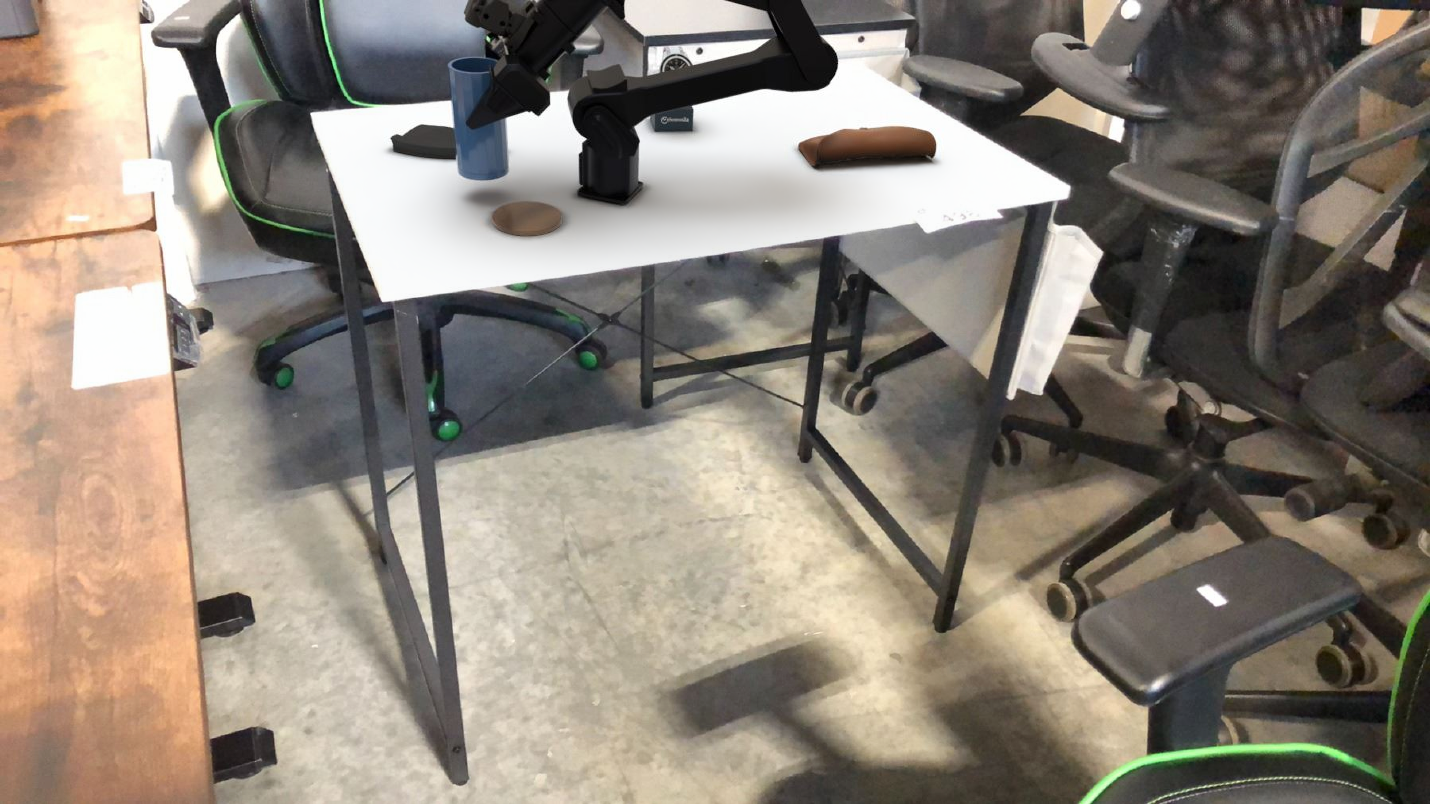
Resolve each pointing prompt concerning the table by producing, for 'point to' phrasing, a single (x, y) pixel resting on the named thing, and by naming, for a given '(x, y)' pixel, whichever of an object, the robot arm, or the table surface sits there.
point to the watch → (679, 117)
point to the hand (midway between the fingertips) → (467, 116)
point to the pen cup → (484, 146)
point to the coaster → (526, 218)
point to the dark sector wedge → (426, 142)
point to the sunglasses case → (868, 144)
